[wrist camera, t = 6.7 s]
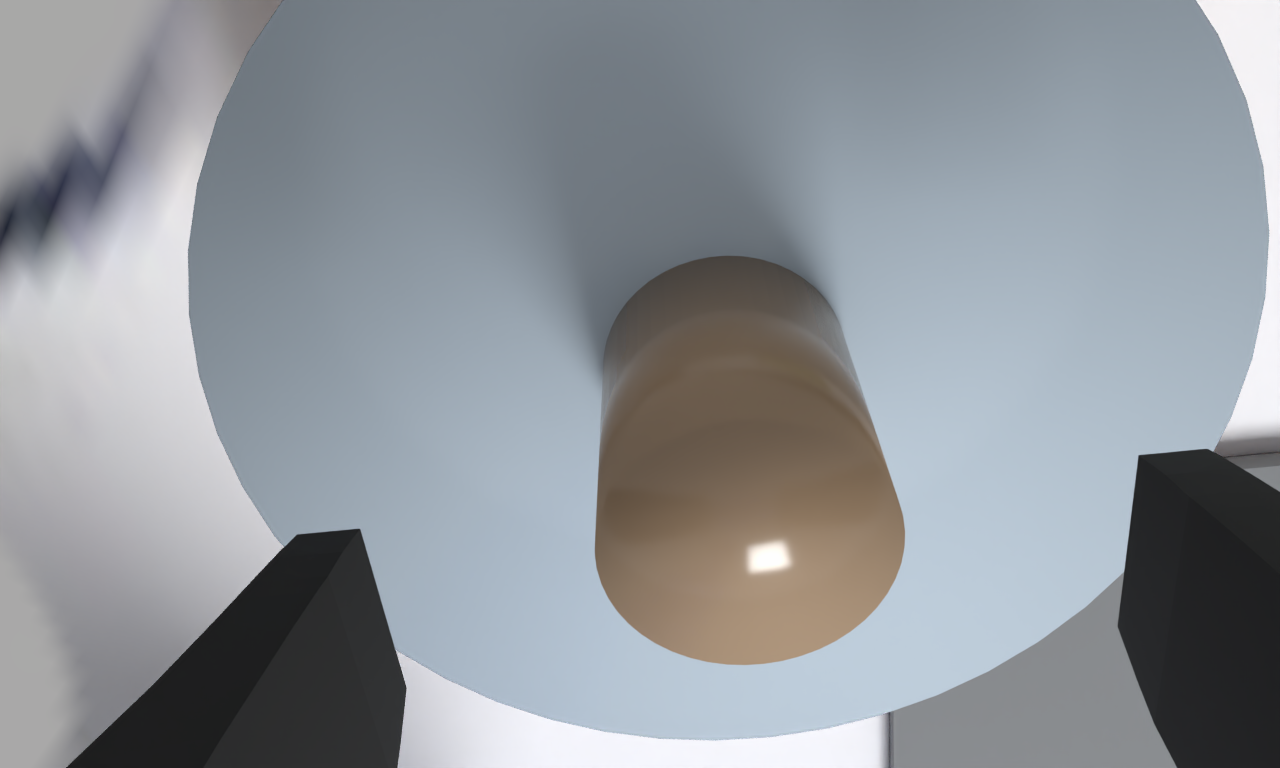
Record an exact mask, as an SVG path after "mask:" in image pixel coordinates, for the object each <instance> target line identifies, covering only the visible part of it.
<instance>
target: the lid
mask: <svg viewBox="0 0 1280 768" xmlns="http://www.w3.org/2000/svg"><path fill="white" fill-rule="evenodd" d="M1268 243H1269V225H1268V214H1267V203H1266V192H1265V181H1264V170H1263V164H1262V160H1261V156H1260V152H1259V148H1258V144H1257V140H1256V136H1255V132H1254V128H1253V124H1252V120H1251V116H1250V112H1249V108H1248V104H1247V100H1246V98H1245V96H1244V93H1243V91H1242V89H1241V86H1240V84H1239V82H1238V79H1237V77H1236V75H1235V73H1234V70H1233V68H1232V66H1231V63H1230V61H1229V59H1228V56H1227V54H1226V52H1225V49H1224V47H1223V45H1222V43H1221V40H1220V38H1219V36H1218V34H1217V32H1216V31H1215V29H1214V28H1213V26H1212V25H1211V23H1210V22H1209V20H1208V18H1207V17H1206V15H1205V14H1204V12H1203V11H1202V9H1201V8H1200V6H1199V4H1198V3H1197V1H1196V0H283V1H282V2H281V4H280V5H279V7H278V8H277V10H276V11H275V13H274V14H273V16H272V17H271V19H270V20H269V22H268V23H267V24H266V26H265V27H264V29H263V30H262V32H261V33H260V35H259V36H258V38H257V39H256V41H255V42H254V44H253V45H252V47H251V48H250V50H249V51H248V53H247V55H246V57H245V59H244V62H243V64H242V66H241V68H240V70H239V72H238V74H237V76H236V78H235V81H234V83H233V85H232V87H231V89H230V91H229V93H228V95H227V97H226V100H225V102H224V104H223V106H222V108H221V110H220V112H219V114H218V117H217V119H216V123H215V126H214V130H213V133H212V136H211V140H210V143H209V146H208V150H207V153H206V156H205V160H204V163H203V166H202V170H201V173H200V177H199V180H198V183H197V190H196V197H195V204H194V212H193V219H192V226H191V234H190V241H189V248H188V269H189V316H190V323H191V329H192V335H193V341H194V347H195V353H196V359H197V366H198V372H199V377H200V380H201V383H202V386H203V389H204V393H205V396H206V399H207V402H208V405H209V409H210V412H211V415H212V418H213V421H214V424H215V428H216V431H217V434H218V436H219V438H220V440H221V442H222V444H223V446H224V449H225V451H226V453H227V455H228V457H229V459H230V461H231V463H232V465H233V468H234V470H235V472H236V474H237V476H238V478H239V480H240V482H241V484H242V487H243V488H244V490H245V491H246V493H247V494H248V496H249V497H250V499H251V500H252V502H253V504H254V505H255V507H256V508H257V510H258V511H259V513H260V514H261V516H262V517H263V519H264V521H265V522H266V524H267V525H268V527H269V528H270V530H271V531H272V533H273V534H274V536H275V537H276V538H277V539H278V541H279V542H280V543H281V544H282V545H283V546H284V547H285V546H286V545H287V544H288V543H289V542H290V541H291V540H292V539H293V538H294V537H295V536H296V535H297V534H307V533H317V532H328V531H339V530H349V529H360V530H361V533H362V536H363V540H364V543H365V547H366V550H367V554H368V557H369V561H370V564H371V567H372V571H373V574H374V578H375V581H376V585H377V588H378V592H379V595H380V598H381V602H382V605H383V609H384V612H385V616H386V619H387V623H388V626H389V630H390V633H391V636H392V640H393V643H394V647H395V649H396V650H397V651H399V652H400V653H402V654H404V655H405V656H407V657H409V658H411V659H412V660H414V661H416V662H418V663H419V664H421V665H423V666H424V667H426V668H428V669H430V670H431V671H433V672H435V673H437V674H438V675H440V676H442V677H443V678H445V679H447V680H449V681H452V682H454V683H456V684H458V685H460V686H463V687H465V688H467V689H469V690H472V691H474V692H476V693H478V694H481V695H483V696H485V697H487V698H490V699H492V700H494V701H496V702H499V703H502V704H505V705H508V706H511V707H514V708H517V709H520V710H523V711H526V712H529V713H532V714H535V715H538V716H541V717H544V718H547V719H551V720H555V721H560V722H564V723H568V724H573V725H577V726H582V727H586V728H591V729H595V730H600V731H604V732H612V733H620V734H627V735H635V736H643V737H651V738H659V739H688V740H730V739H747V738H763V737H775V736H781V735H788V734H794V733H801V732H807V731H814V730H820V729H827V728H831V727H835V726H839V725H843V724H847V723H851V722H855V721H859V720H863V719H867V718H871V717H875V716H879V715H883V714H886V713H888V712H891V711H894V710H897V709H900V708H903V707H905V706H908V705H911V704H914V703H917V702H920V701H922V700H925V699H928V698H931V697H934V696H936V695H939V694H941V693H943V692H945V691H947V690H949V689H952V688H954V687H956V686H958V685H960V684H962V683H964V682H967V681H969V680H971V679H973V678H975V677H977V676H979V675H982V674H984V673H986V672H988V671H990V670H992V669H993V668H995V667H997V666H998V665H1000V664H1002V663H1003V662H1005V661H1007V660H1009V659H1010V658H1012V657H1014V656H1015V655H1017V654H1019V653H1020V652H1022V651H1024V650H1025V649H1027V648H1029V647H1031V646H1032V645H1034V644H1036V643H1037V642H1039V641H1040V640H1042V639H1043V638H1044V637H1046V636H1047V635H1048V634H1050V633H1051V632H1052V631H1054V630H1055V629H1057V628H1058V627H1059V626H1061V625H1062V624H1063V623H1065V622H1066V621H1067V620H1069V619H1070V618H1071V617H1073V616H1074V615H1076V614H1077V613H1078V612H1080V611H1081V610H1082V609H1084V608H1085V607H1086V606H1087V605H1088V604H1090V603H1091V602H1092V601H1093V600H1094V599H1095V598H1096V597H1097V596H1098V595H1099V594H1100V593H1102V592H1103V591H1104V590H1105V589H1106V588H1107V587H1108V586H1109V585H1110V584H1111V583H1112V582H1114V581H1115V580H1116V579H1117V578H1118V577H1119V576H1120V575H1121V574H1122V573H1123V572H1124V569H1125V561H1126V553H1127V545H1128V536H1129V528H1130V520H1131V512H1132V504H1133V496H1134V488H1135V480H1136V472H1137V464H1138V455H1145V454H1155V453H1166V452H1177V451H1187V450H1198V449H1209V450H1211V451H1213V452H1214V450H1215V448H1216V446H1217V444H1218V442H1219V440H1220V438H1221V436H1222V434H1223V432H1224V430H1225V428H1226V426H1227V424H1228V422H1229V421H1230V419H1231V416H1232V414H1233V411H1234V408H1235V405H1236V402H1237V400H1238V397H1239V394H1240V391H1241V389H1242V386H1243V383H1244V380H1245V377H1246V375H1247V372H1248V369H1249V366H1250V363H1251V361H1252V357H1253V353H1254V348H1255V343H1256V338H1257V333H1258V329H1259V324H1260V319H1261V314H1262V310H1263V305H1264V300H1265V292H1266V276H1267V260H1268Z"/></svg>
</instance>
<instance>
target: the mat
mask: <svg viewBox="0 0 1280 768" xmlns="http://www.w3.org/2000/svg"><path fill="white" fill-rule="evenodd" d="M1225 459H1227V460H1229V461H1230V462H1232V463H1234V464H1235V465H1237V466H1239V467H1241V468H1242V469H1244V470H1245V471H1247V472H1249V473H1250V474H1252V475H1254V476H1255V477H1257V478H1259V479H1260V480H1262V481H1263V482H1265V483H1267V484H1268V485H1270V486H1271V487H1273V488H1275V489H1276V490H1278V491H1279V492H1280V453H1269V454H1258V455H1248V456H1237V457H1226V458H1225ZM1123 577H1124V572H1123V573H1122V574H1121V575H1120V576H1119V577H1118V578H1117V579H1116V580H1115V581H1114V582H1112V583H1111V584H1110V585H1109V586H1108V587H1107V588H1106V589H1105V590H1104V591H1103V592H1102V593H1100V594H1099V595H1098V596H1097V597H1096V598H1095V599H1094V600H1093V601H1092V602H1091V603H1090V604H1088V605H1087V606H1086V607H1085V608H1084V609H1082V610H1081V611H1080V612H1078V613H1077V614H1076V615H1074V616H1073V617H1071V618H1070V619H1069V620H1067V621H1066V622H1065V623H1063V624H1062V625H1061V626H1059V627H1058V628H1057V629H1055V630H1054V631H1052V632H1051V633H1050V634H1048V635H1047V636H1046V637H1044V638H1043V639H1042V640H1040V641H1039V642H1037V643H1036V644H1034V645H1032V646H1031V647H1029V648H1027V649H1025V650H1024V651H1022V652H1020V653H1019V654H1017V655H1015V656H1014V657H1012V658H1010V659H1009V660H1007V661H1005V662H1003V663H1002V664H1000V665H998V666H997V667H995V668H993V669H992V670H990V671H988V672H986V673H984V674H982V675H979V676H977V677H975V678H973V679H971V680H969V681H967V682H964V683H962V684H960V685H958V686H956V687H954V688H952V689H949V690H947V691H945V692H943V693H941V694H939V695H936V696H934V697H931V698H928V699H925V700H922V701H920V702H917V703H914V704H911V705H908V706H905V707H903V708H900V709H897V710H894V711H891V712H890V768H1177V767H1176V765H1175V763H1174V761H1173V759H1172V757H1171V755H1170V753H1169V752H1168V750H1167V748H1166V746H1165V744H1164V742H1163V740H1162V738H1161V736H1160V734H1159V732H1158V730H1157V728H1156V727H1155V725H1154V722H1153V720H1152V717H1151V715H1150V712H1149V709H1148V707H1147V704H1146V702H1145V699H1144V697H1143V694H1142V692H1141V689H1140V687H1139V684H1138V682H1137V679H1136V676H1135V673H1134V671H1133V668H1132V665H1131V662H1130V660H1129V657H1128V654H1127V651H1126V649H1125V646H1124V643H1123V640H1122V638H1121V635H1120V632H1119V629H1118V618H1119V609H1120V601H1121V593H1122V585H1123Z"/></svg>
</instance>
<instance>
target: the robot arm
mask: <svg viewBox="0 0 1280 768" xmlns="http://www.w3.org/2000/svg"><path fill="white" fill-rule="evenodd" d="M1118 629H1119V632H1120V635H1121V638H1122V640H1123V643H1124V646H1125V649H1126V651H1127V654H1128V657H1129V660H1130V662H1131V665H1132V668H1133V671H1134V673H1135V676H1136V679H1137V682H1138V684H1139V687H1140V689H1141V692H1142V694H1143V697H1144V699H1145V702H1146V704H1147V707H1148V709H1149V712H1150V715H1151V717H1152V720H1153V722H1154V725H1155V727H1156V728H1157V730H1158V732H1159V734H1160V736H1161V738H1162V740H1163V742H1164V744H1165V746H1166V748H1167V750H1168V752H1169V753H1170V755H1171V757H1172V759H1173V761H1174V763H1175V765H1176V767H1177V768H1280V492H1279V491H1278V490H1276V489H1275V488H1273V487H1271V486H1270V485H1268V484H1267V483H1265V482H1263V481H1262V480H1260V479H1259V478H1257V477H1255V476H1254V475H1252V474H1250V473H1249V472H1247V471H1245V470H1244V469H1242V468H1241V467H1239V466H1237V465H1235V464H1234V463H1232V462H1230V461H1229V460H1227V459H1225V458H1223V457H1222V456H1220V455H1218V454H1216V453H1214V452H1213V451H1211V450H1209V449H1198V450H1187V451H1177V452H1166V453H1155V454H1145V455H1138V464H1137V472H1136V480H1135V488H1134V496H1133V504H1132V512H1131V520H1130V528H1129V536H1128V545H1127V553H1126V561H1125V569H1124V577H1123V585H1122V593H1121V601H1120V609H1119V618H1118ZM405 697H406V685H405V681H404V678H403V674H402V671H401V667H400V664H399V661H398V657H397V654H396V650H395V647H394V643H393V640H392V636H391V633H390V630H389V626H388V623H387V619H386V616H385V612H384V609H383V605H382V602H381V598H380V595H379V592H378V588H377V585H376V581H375V578H374V574H373V571H372V567H371V564H370V561H369V557H368V554H367V550H366V547H365V543H364V540H363V536H362V533H361V530H360V529H349V530H339V531H328V532H317V533H307V534H297V535H296V536H295V537H294V538H293V539H292V540H291V541H290V542H289V543H288V544H287V545H286V546H285V547H284V548H283V549H282V550H281V551H280V552H279V553H278V554H277V555H276V556H275V557H274V558H273V559H272V560H271V561H270V562H269V563H268V564H267V565H266V567H265V568H264V569H263V570H262V571H261V572H260V573H259V574H258V575H257V576H256V577H255V578H254V579H253V580H252V581H251V583H250V584H249V585H248V586H247V587H246V588H245V589H244V590H243V591H242V592H241V593H240V594H239V595H238V596H237V598H236V599H235V600H234V601H233V602H232V603H231V604H230V605H229V606H228V607H227V608H226V609H225V610H224V611H223V613H222V614H221V615H220V616H219V617H218V618H217V619H216V620H215V621H214V622H213V623H212V624H211V625H210V626H209V627H208V628H207V629H206V630H205V631H204V633H203V634H202V635H201V636H200V637H199V638H198V639H197V640H196V641H195V642H194V643H193V644H192V645H191V646H190V647H189V648H188V649H187V650H186V651H185V652H184V653H183V654H182V655H181V656H180V657H179V659H178V660H177V661H176V662H175V663H174V664H173V665H172V666H171V667H170V668H169V669H168V670H167V671H166V672H165V673H164V674H163V675H162V676H161V677H160V678H159V679H158V680H157V681H156V682H155V683H154V684H153V685H152V686H151V687H150V688H149V689H148V690H147V691H146V692H145V693H144V694H143V695H142V696H141V697H140V698H139V699H138V700H137V701H136V702H135V703H134V704H133V705H132V706H130V707H129V708H128V709H127V710H126V711H125V712H124V713H123V714H122V715H121V716H120V717H119V718H118V719H117V720H116V721H115V722H114V723H113V724H112V725H111V726H109V727H108V728H107V729H106V730H105V731H104V732H103V733H102V734H101V735H100V736H99V737H98V738H97V739H96V740H95V741H94V742H93V743H92V744H91V745H90V746H89V747H87V748H86V749H85V750H84V751H83V752H82V753H81V754H80V755H79V756H78V757H77V758H76V759H75V760H74V761H73V762H72V763H71V764H70V765H69V766H68V767H66V768H397V765H398V758H399V750H400V743H401V734H402V725H403V715H404V706H405Z"/></svg>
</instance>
